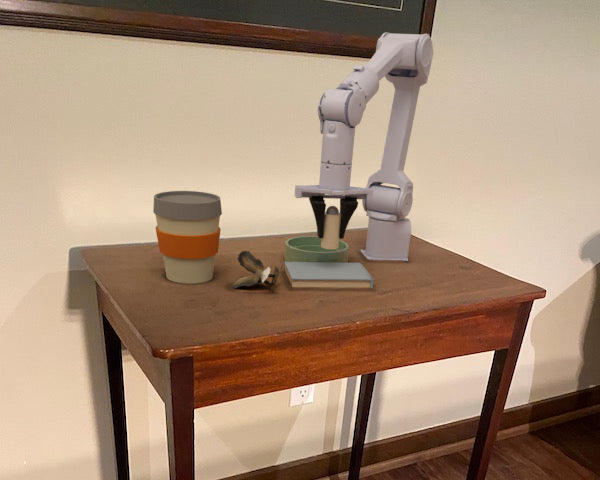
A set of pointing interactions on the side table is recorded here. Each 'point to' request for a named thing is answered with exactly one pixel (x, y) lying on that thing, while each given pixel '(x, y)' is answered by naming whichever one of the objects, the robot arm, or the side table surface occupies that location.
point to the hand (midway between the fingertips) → (330, 237)
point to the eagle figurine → (255, 271)
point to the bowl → (313, 250)
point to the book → (328, 274)
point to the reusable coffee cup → (188, 234)
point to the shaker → (331, 228)
